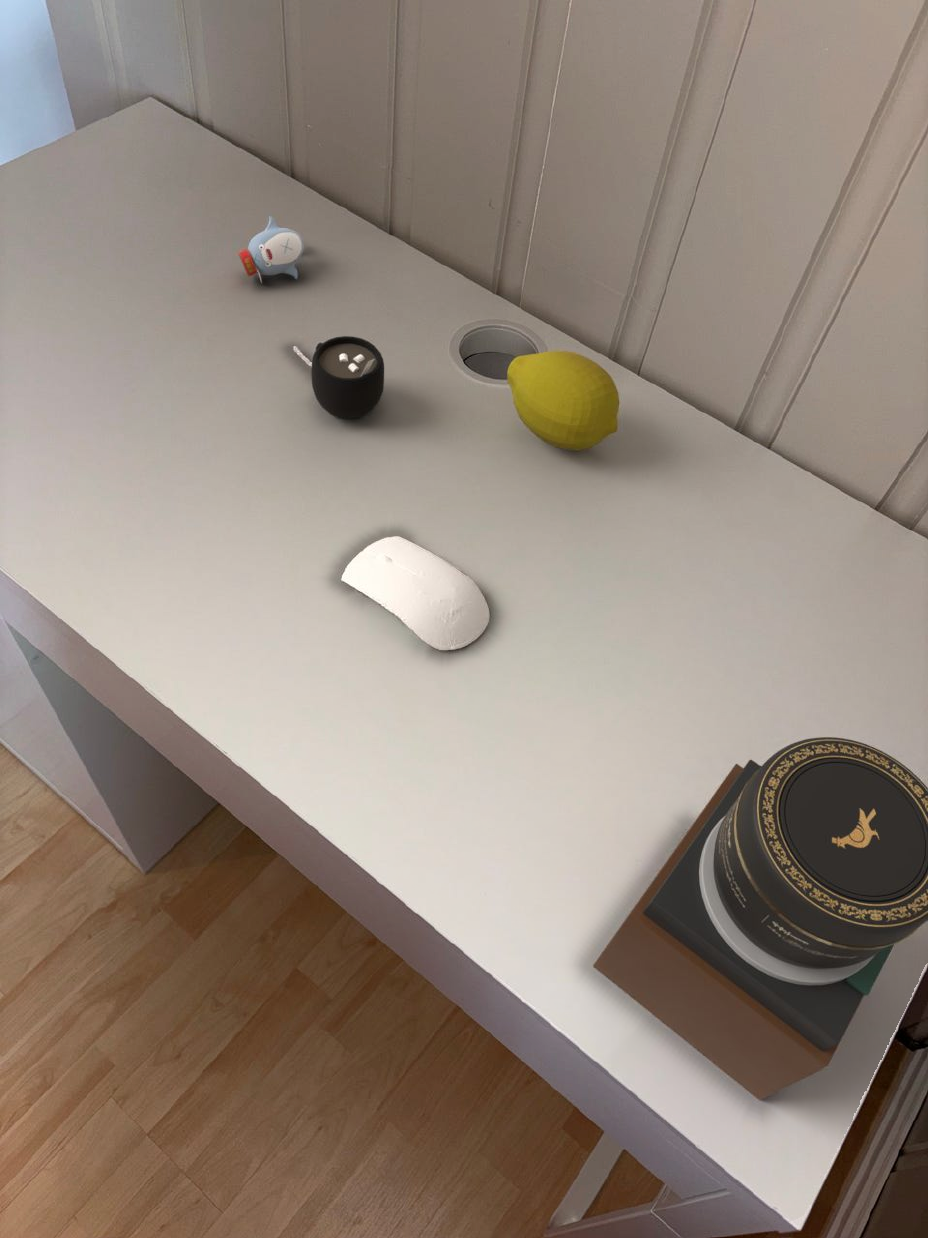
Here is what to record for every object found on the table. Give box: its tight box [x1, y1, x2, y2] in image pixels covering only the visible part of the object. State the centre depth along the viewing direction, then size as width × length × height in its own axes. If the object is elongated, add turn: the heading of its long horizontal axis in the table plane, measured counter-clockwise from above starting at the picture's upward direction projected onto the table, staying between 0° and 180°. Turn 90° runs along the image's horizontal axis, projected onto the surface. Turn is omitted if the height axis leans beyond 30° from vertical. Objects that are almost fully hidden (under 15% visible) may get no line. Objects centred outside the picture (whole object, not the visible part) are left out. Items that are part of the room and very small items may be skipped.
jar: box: [713, 736, 928, 969], centre depth 49 cm, size 10×10×8 cm
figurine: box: [237, 215, 305, 284], centre depth 96 cm, size 5×8×4 cm
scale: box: [592, 759, 895, 1101], centre depth 57 cm, size 12×12×13 cm
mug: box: [292, 335, 385, 420], centre depth 85 cm, size 12×6×8 cm, turn 40°
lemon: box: [506, 350, 621, 451], centre depth 84 cm, size 11×8×8 cm
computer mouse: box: [340, 535, 490, 651], centre depth 75 cm, size 7×12×2 cm, turn 49°
